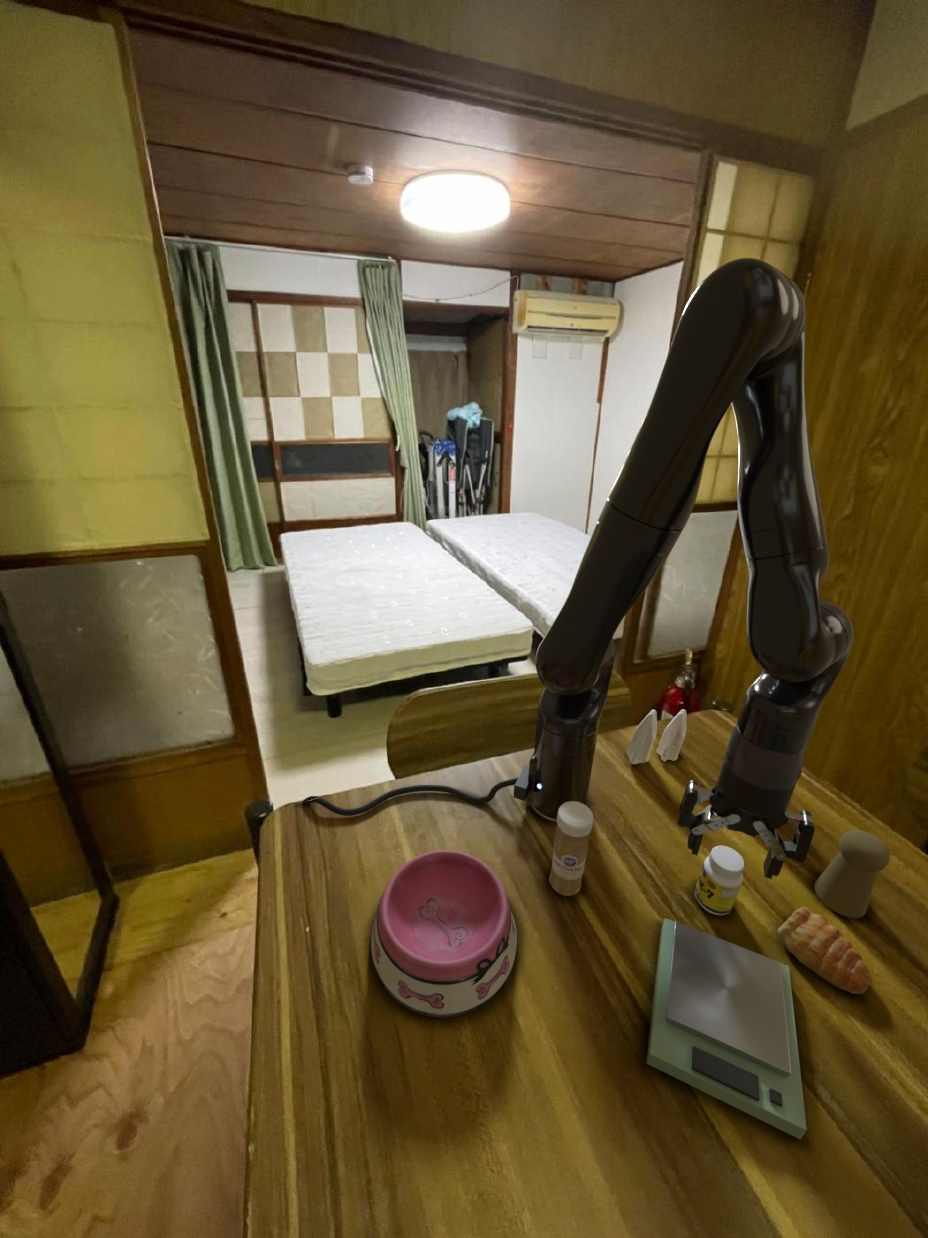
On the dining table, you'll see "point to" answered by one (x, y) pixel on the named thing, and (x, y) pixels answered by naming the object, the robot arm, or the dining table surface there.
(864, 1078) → the dining table surface
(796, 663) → the robot arm
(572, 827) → the sprinkles bottle
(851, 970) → the pastry
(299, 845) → the dining table surface
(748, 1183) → the dining table surface
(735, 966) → the scale pan
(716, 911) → the supplement bottle
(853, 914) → the cork
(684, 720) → the shaker set
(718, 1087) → the scale base
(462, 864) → the dog bowl
